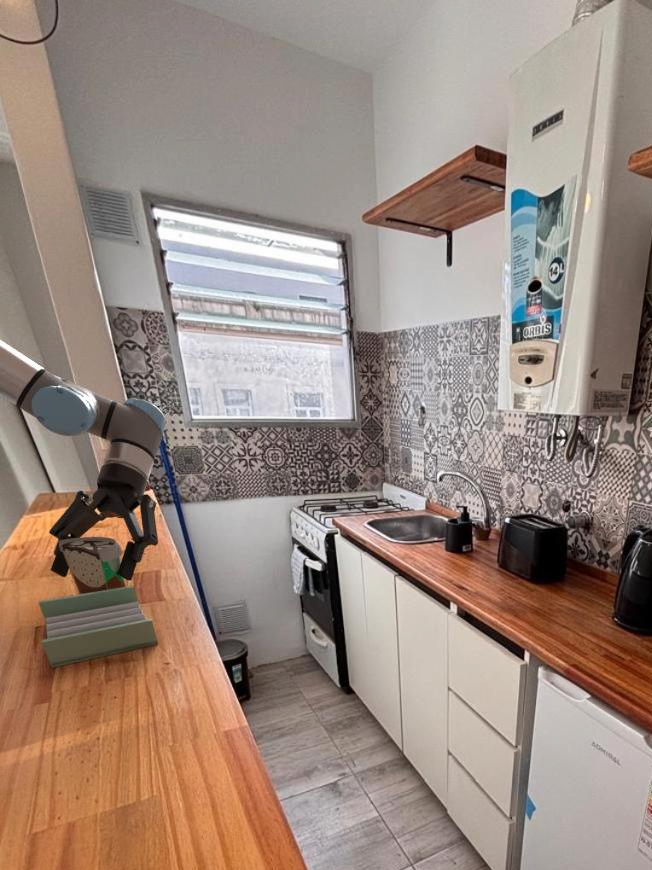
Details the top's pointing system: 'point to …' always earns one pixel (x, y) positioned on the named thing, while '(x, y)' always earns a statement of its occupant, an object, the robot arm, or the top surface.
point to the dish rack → (95, 625)
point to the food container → (93, 563)
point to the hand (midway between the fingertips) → (91, 575)
